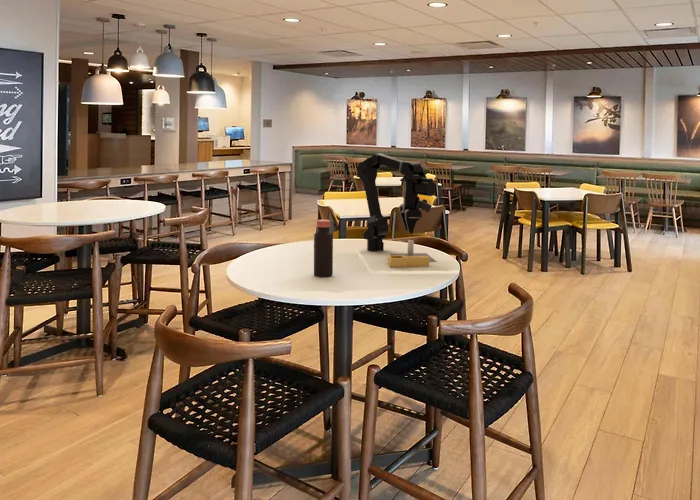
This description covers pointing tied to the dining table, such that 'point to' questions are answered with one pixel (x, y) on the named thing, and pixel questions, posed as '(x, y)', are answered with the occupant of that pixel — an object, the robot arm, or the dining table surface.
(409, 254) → the stand
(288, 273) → the dining table surface
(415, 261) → the tan long block
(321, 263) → the bottle
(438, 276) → the dining table surface
